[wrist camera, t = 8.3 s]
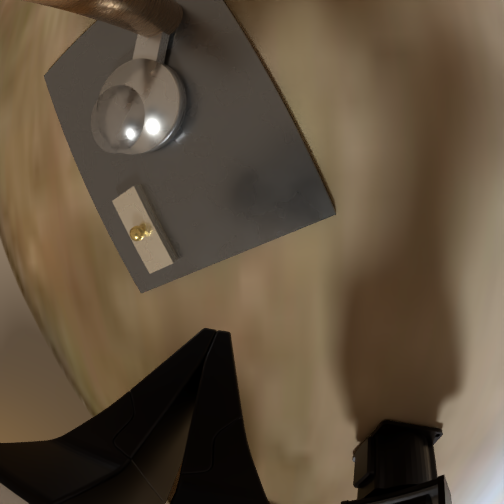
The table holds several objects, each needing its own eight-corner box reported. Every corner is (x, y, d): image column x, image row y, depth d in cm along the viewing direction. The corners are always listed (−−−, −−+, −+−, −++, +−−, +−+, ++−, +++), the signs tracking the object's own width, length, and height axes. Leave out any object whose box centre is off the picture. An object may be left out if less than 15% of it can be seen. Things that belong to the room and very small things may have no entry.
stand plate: (336, 211, 18) (335, 222, 16) (145, 290, 23) (128, 304, 21) (192, -44, 14) (177, -59, 12) (49, 76, 19) (28, 75, 17)
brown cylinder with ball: (209, -3, 14) (74, -99, 3) (178, 160, 18) (6, 205, 7) (124, 5, 15) (-17, -40, 4) (99, 148, 19) (-56, 182, 9)
